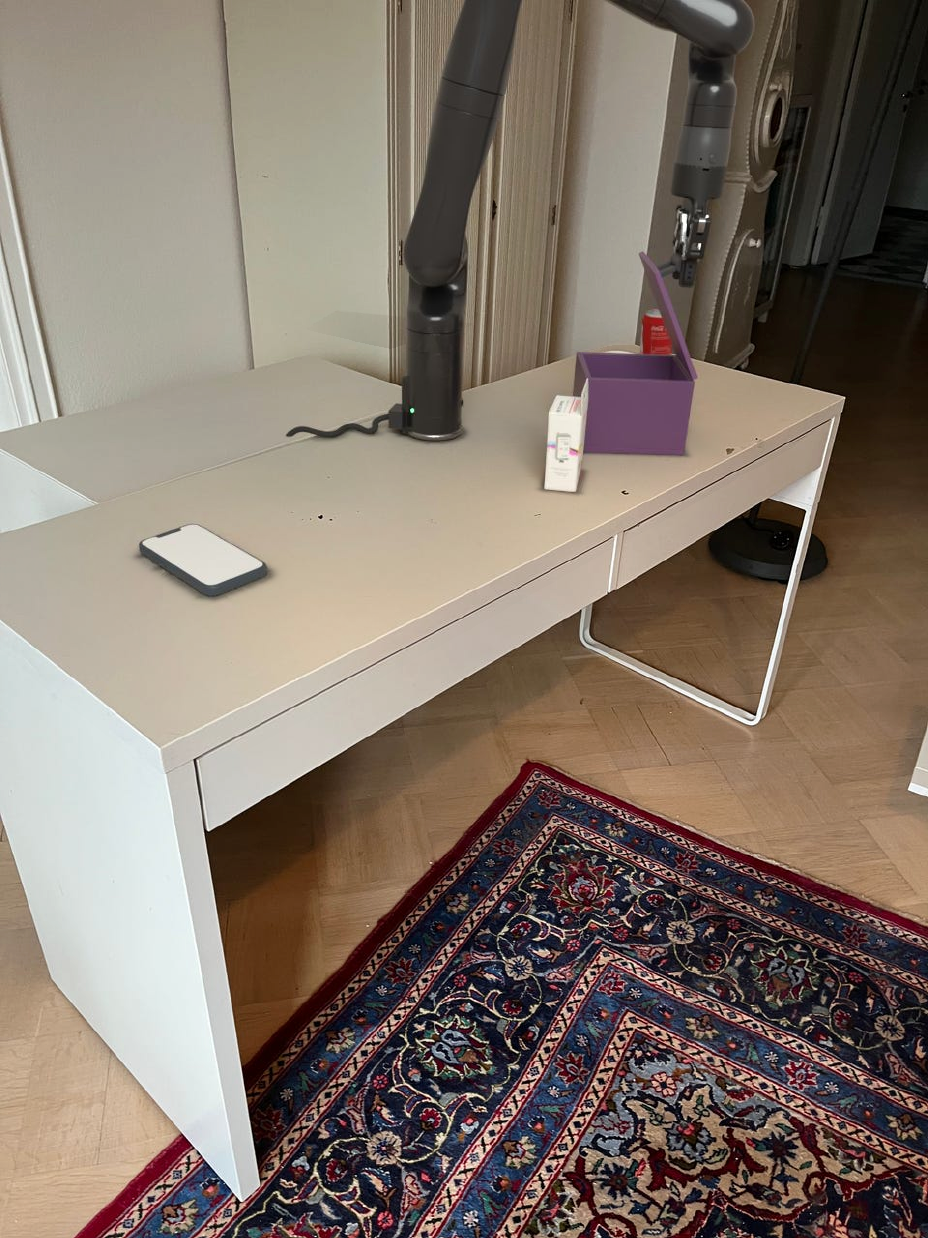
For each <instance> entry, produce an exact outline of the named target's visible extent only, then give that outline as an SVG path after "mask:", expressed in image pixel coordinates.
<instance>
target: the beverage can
mask: <svg viewBox="0 0 928 1238" xmlns="http://www.w3.org/2000/svg"><path fill="white" fill-rule="evenodd" d="M639 342H640V343H639V353H638V354H660V355H672V348H673V347H672V344H671V341H670V339H669V336H668V333H667V330H666V328H665V325H664V322H663V319H662V317H661V314H660V311H659V308H655V309H654V308H653V309H648V310H646V311H644V315H643V317H642V319H641V329H640V341H639Z"/></svg>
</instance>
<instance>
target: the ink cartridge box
mask: <svg viewBox="0 0 928 1238" xmlns="http://www.w3.org/2000/svg"><path fill="white" fill-rule="evenodd" d="M584 396H585V398H584ZM587 407H588V378H587V380H586V382H585V385H584V388H583V391H582V393H581V397H573V395H571V396H570V395H562V394H561V395H559V394H556V395H555V397H554V399H553V401H552V404H551V406H550V409H549V412H548V424H547V425H548V426H547V442H546V456H545V457H546V458H545V459H546V462H545V472H544V473H545V475H544V486H543V489H544V490H549V491H559V492H568V493H569V492H570V493H576V492H577V489H578V485H579V481H580V477H581V472H582V466H583V456H584V452H583V447H584V437H585V427H586V417H587Z"/></svg>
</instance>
